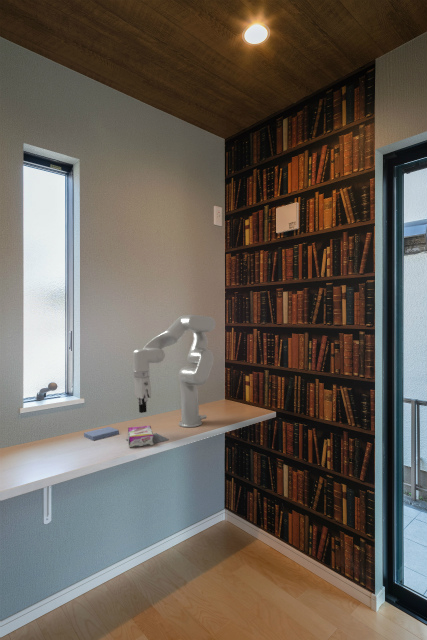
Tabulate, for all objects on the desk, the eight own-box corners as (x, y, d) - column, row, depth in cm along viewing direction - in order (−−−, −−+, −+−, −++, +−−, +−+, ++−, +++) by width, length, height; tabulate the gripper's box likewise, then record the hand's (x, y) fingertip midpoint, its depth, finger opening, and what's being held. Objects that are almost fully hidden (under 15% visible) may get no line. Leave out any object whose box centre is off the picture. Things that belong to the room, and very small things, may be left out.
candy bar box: (150, 424, 184) (153, 434, 168) (150, 434, 184) (154, 445, 168) (127, 426, 181) (128, 436, 166) (127, 437, 181) (128, 447, 166)
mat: (156, 433, 187) (156, 433, 187) (168, 440, 176) (168, 439, 176) (126, 440, 178) (126, 439, 178) (136, 447, 167) (136, 446, 167)
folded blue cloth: (109, 431, 196) (109, 426, 196) (119, 435, 188) (118, 430, 188) (83, 437, 186) (83, 432, 186) (93, 441, 179) (92, 436, 179)
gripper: (155, 375, 177) (156, 413, 176) (142, 372, 189) (143, 408, 189) (140, 376, 172) (141, 416, 172) (128, 374, 185) (129, 410, 184)
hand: (142, 412), depth 180 cm, fingers closed
